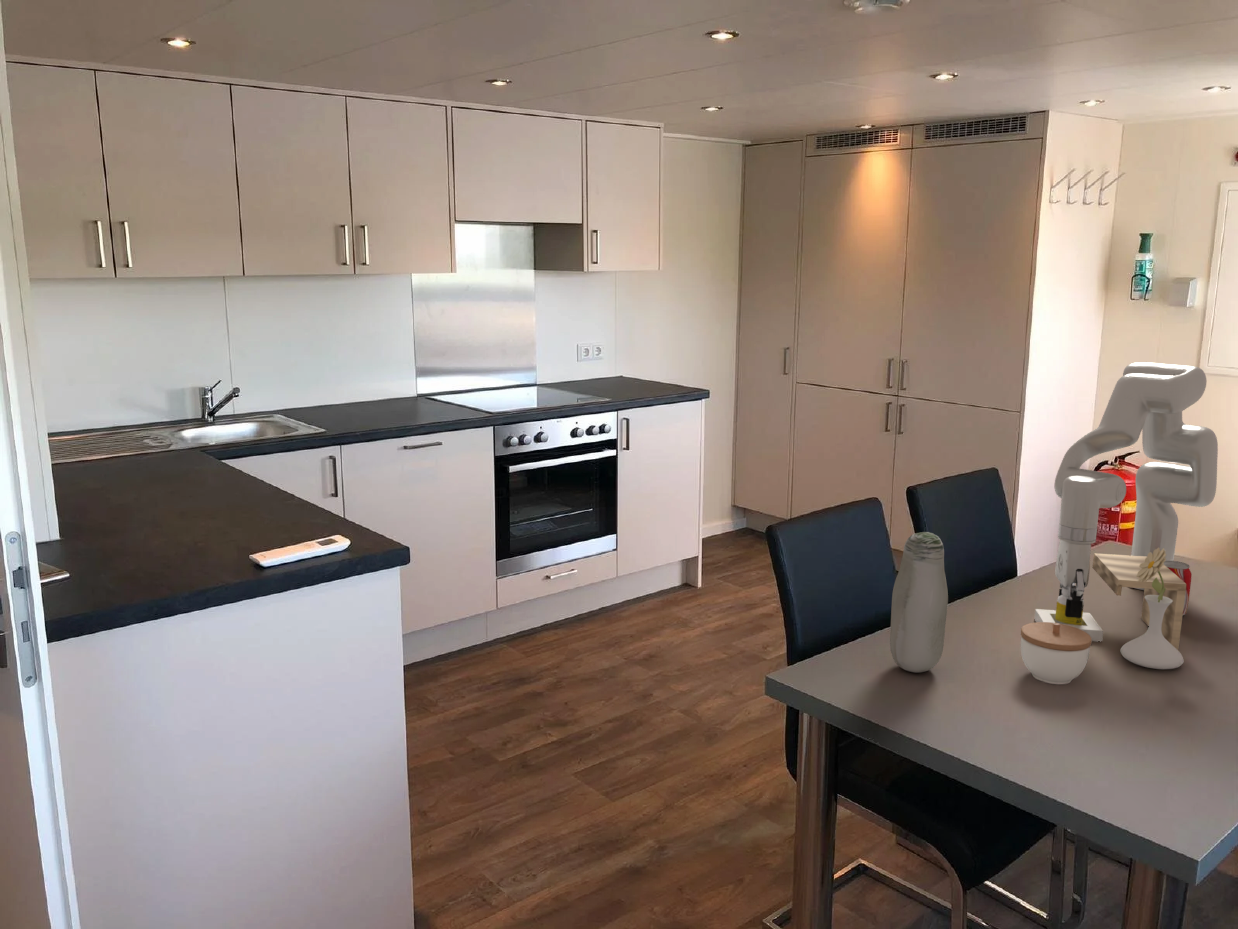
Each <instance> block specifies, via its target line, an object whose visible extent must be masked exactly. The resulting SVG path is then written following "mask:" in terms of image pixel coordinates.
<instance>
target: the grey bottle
mask: <svg viewBox="0 0 1238 929" xmlns="http://www.w3.org/2000/svg"><path fill="white" fill-rule="evenodd" d="M944 548H945V547H944V543H943V542H942V540H941V538H940V536H938V535H937V534H934V533H933V532H929V531H922V532H916V533H913V534H912V535H910V536H909V537H908V538H907V540H906V541H905V543H904V545H903V553H902V557H901V562H900V566H899V570H898V572H897V575H896V578H895V581H894V584H893V587H892V589H893V590H892V594H891V595H892V596H891V612H890V613H891V614H890V631H889V632H890V633H889V634H890V635H889V648H890V653H891V656H892V659H893V661H894V662H895V664H896V665H897V666H898V667H899V668H901V669H903V671H904V670H905V671H907V672H909V673H910V672H911V673H924V672H927V671H930V670H932V669H934V668H935V667H936V666H937V664H938V663H939V662H940V659H941V657H942V655H943V653H944V652H943V651H944V646H945V632H946V622H947V615H948V613H947V612H948V603H949V595H948V594H949V593H948V585H947V579H946V572H945V549H944Z"/></svg>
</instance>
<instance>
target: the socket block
mask: <svg viewBox="0 0 1238 929" xmlns="http://www.w3.org/2000/svg"><path fill="white" fill-rule="evenodd" d="M1055 615H1056V609H1055V610H1054V609H1043V608H1042V609H1041V608H1035V609H1034V619H1035V620H1034V621H1035V622H1051V623H1055ZM1064 625H1069V626H1072V627H1075V628H1078V629H1080V630H1082V631H1084V632H1086V633H1088V634H1089V635H1090V637H1091V639H1092V641H1091V642H1098V641H1100V643H1101V641H1102V642H1103V637H1104V630H1103V628H1102V627H1101V626H1100V625H1099V624H1098V622H1097V621H1096V620H1095V618H1094V617H1093V615H1092V614H1091V613H1090V612H1084V611H1083V615H1082V623H1081V625H1070V624H1064Z"/></svg>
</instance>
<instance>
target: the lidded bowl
mask: <svg viewBox="0 0 1238 929" xmlns="http://www.w3.org/2000/svg"><path fill="white" fill-rule="evenodd" d="M1092 642H1093V641H1092V639H1091V637H1090V635H1089V634H1088V633H1086V632H1084V631H1082V630H1080V629H1078V628H1075V627H1072V626H1069V625H1064V624H1059V623H1051V622H1036V621H1035V622H1030V623H1026V624H1024V625H1022V626H1021V628H1020V654H1021V655H1020V656H1021V658H1022V662H1023V664H1024V665H1025V667H1026V668H1027V670H1028V671H1029V672H1030V673H1031V676H1032V677H1033V678H1034V679H1036V680H1038V681H1040V682H1042V683H1045V684H1052V685H1067V684H1069V683H1070V684H1071V682H1072V680H1075V679H1076V678H1077V677H1079V675H1081V674H1082V672H1084V670H1085V668H1086V666H1087V663H1088V660H1089V656H1090V650H1091V645H1092Z"/></svg>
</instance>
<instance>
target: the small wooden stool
mask: <svg viewBox="0 0 1238 929" xmlns="http://www.w3.org/2000/svg"><path fill="white" fill-rule="evenodd" d="M1146 557H1147V556H1131V554H1130V555H1126V554H1114V553H1113V554H1111V553H1093V559H1092V566H1091V567H1092V569H1093V570H1094V572H1095V573H1096V574H1097V575H1098V576H1099V578H1101V580H1102V581H1103V582H1104V583H1105V584H1106V585H1107V586H1108V587H1109V588H1110V590H1112V591H1113V593H1114V595H1116V596H1119V597H1121V596H1122V590H1123V588H1134V589H1136V588H1145V589H1144V590H1143V600H1142V605H1141V606H1142V607H1141V616H1140V618H1141V620H1142V619H1143V620H1142V621H1143V622H1144V623H1145V624H1146V626H1147V627H1148V626H1149V621H1150V611H1149V606H1148V603H1147V601H1146V599H1145V598H1144V597H1145V596H1146V595H1159V593H1158V592H1157V591H1156V590H1155V589H1154V588H1153V587H1152V582H1153V581H1154V579H1155V578H1157V579H1158V581H1159V582H1160V583H1161V585H1162V582H1161V579H1160V576H1159V574H1158V572H1157V573H1156V575H1155V576H1153V577H1152V578H1151V579H1150V580H1149V579H1148V580H1147V581H1146V582H1145V581H1143V582H1141V581H1138V579H1139V578H1140V577H1136V575H1137V574H1138V571H1140V570H1141V569H1142V568H1140V567H1139V566H1140V564H1141V563H1144V562H1145V558H1146ZM1160 573H1161V576H1162V578H1163V582H1164V588H1166V590H1165V592H1164V593H1163V596H1164V597H1168V598H1170V599H1172V600H1173V602H1172V603H1171V604H1170V605H1169V606H1168V607H1167V609H1166V610H1165V613H1164V616H1163V620H1162V627H1161V630H1162V635H1163V636H1164V638H1165V639H1166V640H1167V641H1168V642H1169V643H1170V644H1172V645H1173V646H1174V647H1175V648H1176V649H1177V650H1178V651H1179V647H1180V646H1179V645H1180V638H1181V631H1182V622H1183V616H1184V615H1183V608H1184V600H1185V592H1186V583H1185V582H1183V581H1182V580H1181V579H1180V578H1179V577H1178V576H1177V575H1175V574H1174V573H1173V572H1172V571H1171V570H1170V569H1169V568H1167V567H1166V566H1165V565H1164V564H1163V566H1162V567H1161V570H1160Z"/></svg>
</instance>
